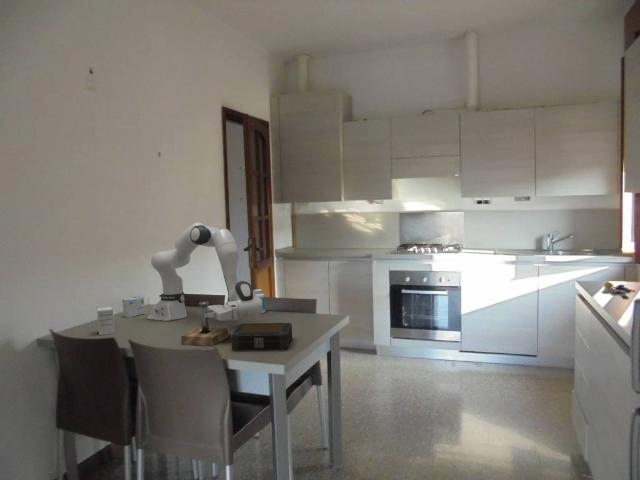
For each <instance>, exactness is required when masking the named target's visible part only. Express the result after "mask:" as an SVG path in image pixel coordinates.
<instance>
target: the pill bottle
mask: <svg viewBox="0 0 640 480" xmlns="http://www.w3.org/2000/svg"><path fill="white" fill-rule="evenodd" d="M253 291H254V292H255V294H256V295H257V296H258V297H259V298H260V299H261V300H262V303H263V307H262V311H261V313H260V314H264V313H265V312H266V298H265V297H266V296H265V294H264V293H263V289H259V288H258V289H253Z"/></svg>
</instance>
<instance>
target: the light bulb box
mask: <svg viewBox="0 0 640 480" xmlns="http://www.w3.org/2000/svg"><path fill="white" fill-rule="evenodd" d="M121 300H122V311H123V312H122V315H123V317H124V316H126V317H125V318H127V317H132V316H136V315H140V314H144V315H146V309H145V296H140V295H136V296H132V297H126V298H122V299H121ZM140 316H141V315H140ZM136 317H137V316H136ZM132 318H133V317H132Z"/></svg>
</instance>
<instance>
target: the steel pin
mask: <svg viewBox="0 0 640 480" xmlns="http://www.w3.org/2000/svg"><path fill="white" fill-rule="evenodd" d="M209 304H210V303H209V301H200V302H198V305H199V307H200V323H201V326H200V327H202V333H207V332H209V328H210V327H209V326H210V324H209V323H210V321H209V317H207V318H205V317H204V313H208V306H210V305H209Z"/></svg>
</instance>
